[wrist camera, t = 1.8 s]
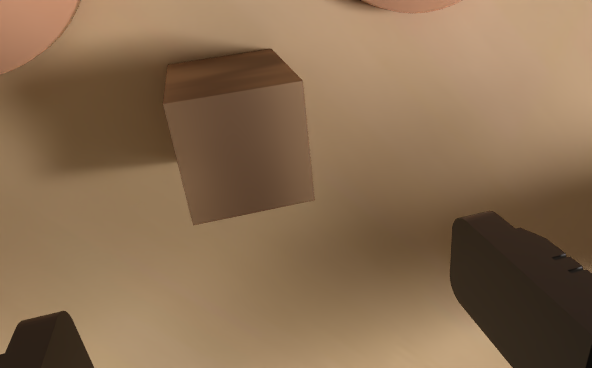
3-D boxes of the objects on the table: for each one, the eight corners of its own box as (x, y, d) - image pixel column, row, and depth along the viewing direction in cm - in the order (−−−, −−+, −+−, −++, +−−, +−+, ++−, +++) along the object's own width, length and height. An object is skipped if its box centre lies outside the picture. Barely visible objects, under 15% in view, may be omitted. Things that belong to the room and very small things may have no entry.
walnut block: (270, 48, 20) (302, 80, 15) (283, 142, 22) (314, 200, 17) (167, 64, 20) (162, 104, 14) (190, 160, 22) (193, 225, 16)
